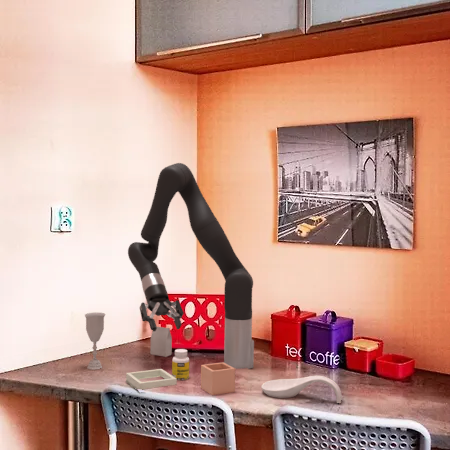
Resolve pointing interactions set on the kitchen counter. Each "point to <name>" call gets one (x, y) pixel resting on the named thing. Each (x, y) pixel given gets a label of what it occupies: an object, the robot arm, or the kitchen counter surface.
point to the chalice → (94, 334)
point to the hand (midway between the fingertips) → (167, 329)
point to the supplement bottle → (180, 365)
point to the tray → (134, 376)
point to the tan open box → (217, 378)
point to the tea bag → (161, 342)
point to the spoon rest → (297, 386)
